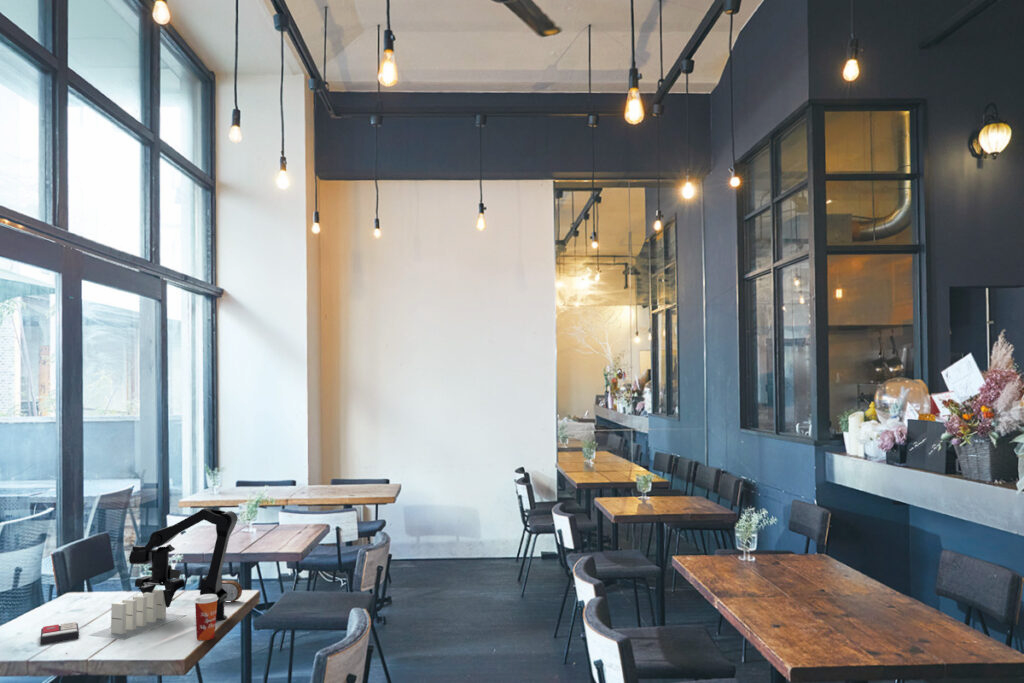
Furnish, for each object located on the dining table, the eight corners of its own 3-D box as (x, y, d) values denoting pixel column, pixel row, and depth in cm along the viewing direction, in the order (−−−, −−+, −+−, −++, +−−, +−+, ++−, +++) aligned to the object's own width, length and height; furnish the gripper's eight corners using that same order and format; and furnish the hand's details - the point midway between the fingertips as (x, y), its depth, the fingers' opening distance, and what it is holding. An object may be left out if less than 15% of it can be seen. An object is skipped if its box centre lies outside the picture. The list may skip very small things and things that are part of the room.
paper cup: (202, 643, 243) (203, 600, 244) (188, 639, 247) (189, 597, 248) (222, 636, 250) (223, 595, 251) (208, 632, 254) (209, 592, 255)
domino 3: (135, 623, 263) (136, 595, 263) (146, 624, 261) (147, 596, 262) (132, 625, 261) (132, 596, 262) (142, 626, 259) (143, 597, 260)
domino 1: (114, 631, 254) (115, 602, 255) (125, 632, 252) (126, 603, 253) (110, 632, 253) (111, 603, 253) (121, 634, 251) (122, 604, 252)
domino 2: (125, 627, 258) (126, 598, 259) (136, 628, 257) (136, 599, 257) (121, 628, 257) (122, 600, 258) (132, 630, 255) (133, 601, 256)
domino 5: (155, 616, 271) (155, 589, 272) (165, 617, 269) (166, 590, 270) (151, 617, 269) (152, 590, 270) (162, 618, 268) (163, 591, 269)
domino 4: (145, 619, 267) (146, 592, 268) (156, 621, 265) (156, 593, 266) (142, 621, 265) (142, 593, 266) (152, 622, 264) (153, 594, 264)
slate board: (152, 614, 277) (153, 612, 277) (186, 618, 271) (186, 615, 272) (88, 638, 250) (88, 635, 250) (123, 642, 245) (123, 639, 245)
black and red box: (77, 620, 260) (78, 629, 247) (77, 633, 259) (78, 642, 247) (41, 626, 254) (40, 635, 241) (40, 638, 254) (40, 648, 241)
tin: (242, 601, 294) (242, 579, 295) (238, 603, 291) (238, 581, 292) (207, 600, 296) (207, 579, 296) (203, 602, 293) (203, 581, 293)
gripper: (196, 560, 275) (195, 602, 274) (157, 557, 282) (156, 598, 280) (173, 567, 265) (172, 610, 264) (134, 564, 271) (133, 606, 270)
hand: (159, 606), depth 270 cm, fingers open, 8 cm apart
